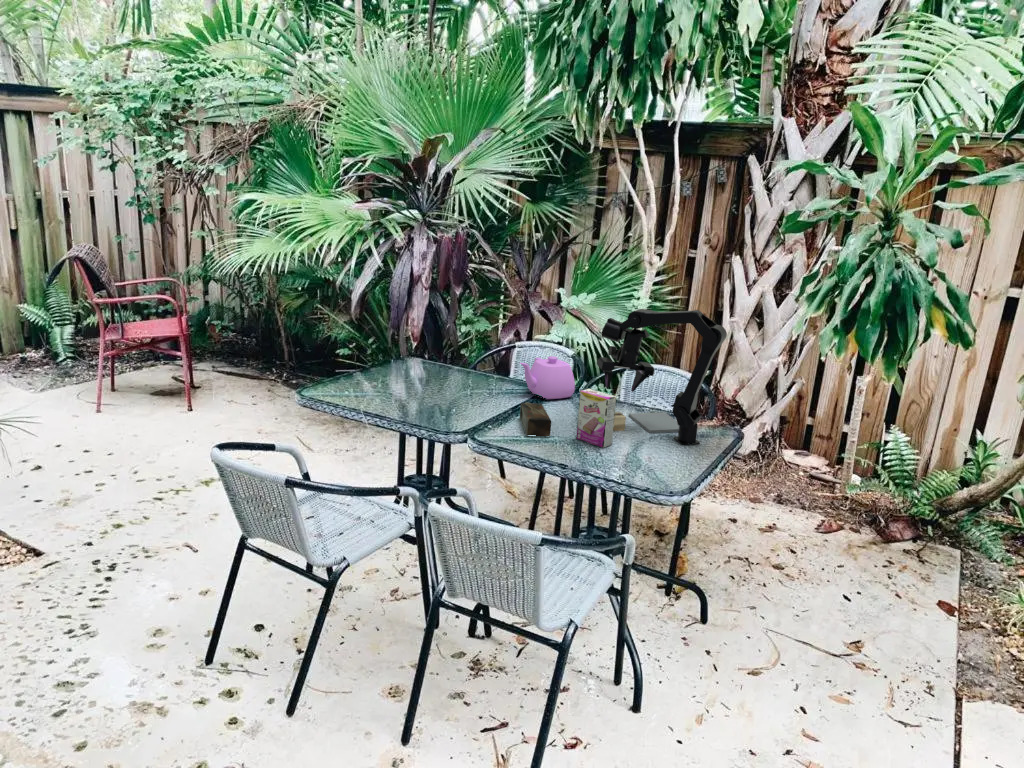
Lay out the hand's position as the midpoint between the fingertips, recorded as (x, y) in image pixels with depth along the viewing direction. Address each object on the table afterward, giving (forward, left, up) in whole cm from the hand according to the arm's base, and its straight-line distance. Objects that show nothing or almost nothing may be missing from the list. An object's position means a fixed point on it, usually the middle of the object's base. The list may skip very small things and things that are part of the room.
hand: (619, 390), depth 254 cm
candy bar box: (-14, +13, -13) cm, 23 cm away
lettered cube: (-2, +1, -13) cm, 13 cm away
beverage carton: (+2, +28, -13) cm, 32 cm away
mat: (+1, -16, -13) cm, 20 cm away
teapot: (+38, +12, -13) cm, 42 cm away
